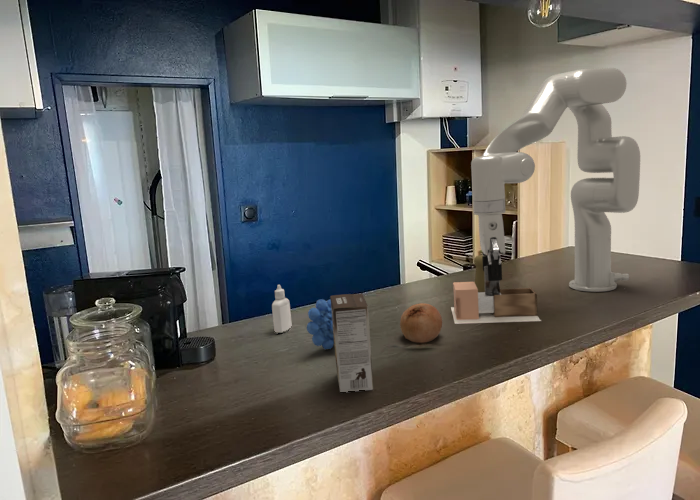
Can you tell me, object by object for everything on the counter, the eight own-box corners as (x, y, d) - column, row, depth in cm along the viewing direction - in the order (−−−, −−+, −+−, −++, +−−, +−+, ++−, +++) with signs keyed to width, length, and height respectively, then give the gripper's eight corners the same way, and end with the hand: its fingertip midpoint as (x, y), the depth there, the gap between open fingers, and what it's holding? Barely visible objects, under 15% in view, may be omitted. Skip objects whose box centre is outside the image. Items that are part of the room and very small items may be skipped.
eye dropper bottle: (297, 329, 133) (292, 283, 131) (278, 335, 129) (273, 288, 127) (288, 326, 136) (284, 281, 134) (269, 331, 133) (264, 286, 131)
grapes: (324, 361, 110) (319, 307, 108) (302, 355, 114) (297, 302, 112) (360, 345, 118) (356, 293, 116) (338, 340, 123) (334, 290, 121)
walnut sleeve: (531, 308, 132) (531, 287, 131) (537, 315, 126) (536, 293, 125) (491, 310, 133) (490, 289, 132) (494, 317, 127) (494, 295, 127)
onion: (420, 360, 114) (410, 328, 109) (397, 338, 122) (387, 307, 116) (454, 338, 117) (446, 305, 111) (429, 318, 124) (421, 286, 119)
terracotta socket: (475, 309, 135) (474, 281, 134) (478, 319, 127) (477, 289, 126) (454, 310, 136) (453, 282, 134) (456, 319, 128) (455, 290, 126)
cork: (492, 288, 158) (491, 253, 157) (495, 293, 153) (494, 256, 151) (472, 289, 159) (471, 254, 157) (475, 294, 153) (473, 257, 151)
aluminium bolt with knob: (499, 307, 132) (498, 264, 130) (502, 312, 128) (501, 267, 126) (459, 308, 133) (458, 266, 132) (461, 313, 129) (459, 269, 127)
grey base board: (528, 308, 136) (528, 304, 136) (541, 324, 122) (541, 320, 122) (451, 310, 139) (450, 307, 139) (455, 327, 125) (454, 323, 125)
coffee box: (336, 374, 103) (329, 295, 100) (368, 370, 103) (362, 292, 101) (339, 394, 94) (332, 307, 91) (374, 390, 94) (368, 304, 92)
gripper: (511, 209, 117) (514, 283, 120) (499, 202, 134) (501, 267, 137) (477, 212, 118) (481, 285, 121) (469, 204, 135) (472, 268, 138)
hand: (492, 275), depth 129 cm, fingers open, 9 cm apart
